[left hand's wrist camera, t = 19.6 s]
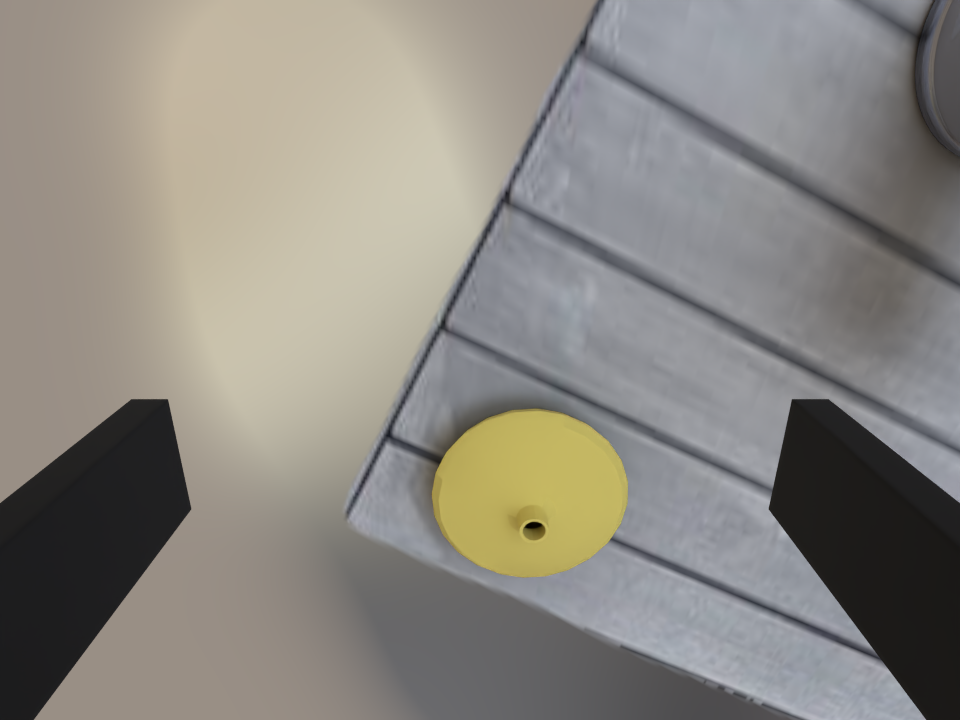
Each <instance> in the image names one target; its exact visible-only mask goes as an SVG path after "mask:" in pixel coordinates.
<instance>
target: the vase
mask: <svg viewBox="0 0 960 720" xmlns="http://www.w3.org/2000/svg"><path fill="white" fill-rule="evenodd" d="M627 500H628V480H627V477H626V474H625V471H624V467H623V464H622V461H621V459H620V458H619V456H618V455H617V453H616V452H615V450H614V449H613V447H612V446H611V444H610V443H609V442H608V441H607V440H606V439H605V438H604V437H602V436H601V435H600V434H599V433H598V432H596V431H595V430H594V429H593V428H591V427H590V426H589V425H587V424H586V423H584V422H582V421H580V420H577V419H575V418H573V417H571V416H568V415H566V414H564V413H561V412H555V411H549V410H543V409H537V408H536V409H522V410H511V411H508V412H504V413H501V414H498V415H495V416H492V417H488V418H486V419H485V420H483V421H482V422H480V423H478V424H477V425H475V426H473V427H472V428H470V429H468V430H467V431H466V432H465V433H464V434H463V435H462V436H461V437H460V438H459V439H458V440H457V441H456V442H455V443H454V444H453V446H452V447H451V448H450V449H449V450H448V451H447V452H446V454H445V456H444V458H443V460H442V462H441V463H440V465H439V467H438V469H437V471H436V474H435V479H434V485H433V490H432V501H433V509H434V516H435V518H436V520H437V522H438V525H439V527H440V529H441V531H442V533H443V535H444V537H445V538H446V539H447V540H448V541H449V542H450V544H451V545H452V546H453V547H454V548H455V549H456V551H457V552H459V553H460V554H461V555H463V556H464V557H466V558H467V559H469V560H470V561H472V562H473V563H475V564H476V565H478V566H481V567H483V568H486V569H489V570H491V571H494V572H496V573H499V574H503V575H510V576H516V577H523V578H524V577H540V576H548V575H552V574H556V573H559V572H563V571H566V570H569V569H571V568H573V567H575V566H577V565H578V564H580V563H582V562H584V561H586V560H588V559H589V558H591V557H592V556H593V555H594V554H595V553H597V552H598V551H599V550H600V549H601V548H602V547H603V546H605V545H606V544H607V543H608V542H609V540H610V539H611V537H612V536H613V534H614V533H615V531H616V530H617V529H618V527H619V526H620V524H621V521H622V518H623V515H624V512H625V509H626V506H627Z"/></svg>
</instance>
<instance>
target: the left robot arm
mask: <svg viewBox="0 0 960 720" xmlns="http://www.w3.org/2000/svg"><path fill="white" fill-rule="evenodd" d="M915 83H916V93H917V98H918V103H919V106H920V109H921V112H922V115H923V117H924V120H925V122H926V124H927V126H928V127H929V129H930V130H931V132H932V133H933V135H934V136H935V137H936V138H937V140H938V141H939V142H940V143H941V144H942V145H944V146H945V147H946V148H947V149H948V150H950V151H951V152H953V153H954V154H956V155H958V156H960V0H935V2H934V4H933V5H932V8H931V10H930V12H929V15H928V17H927V19H926V22H925V25H924V28H923V31H922V34H921V38H920V42H919V46H918V52H917V57H916V68H915ZM190 510H191V505H190V501H189V496H188V491H187V487H186V482H185V477H184V473H183V468H182V463H181V459H180V454H179V449H178V444H177V440H176V435H175V431H174V426H173V421H172V416H171V412H170V407H169V402H168V399H131V400H130V401H129V402H128V403H126V404H125V405H124V406H123V407H121V408H120V409H119V410H117V411H116V412H115V413H114V414H112V415H111V416H110V417H109V418H107V419H106V420H105V421H104V422H102V423H101V424H100V425H98V426H97V427H96V428H95V429H93V430H92V431H91V432H90V433H88V434H87V435H86V436H85V437H83V438H82V439H81V440H80V441H78V442H77V443H76V444H74V445H73V446H72V447H71V448H69V449H68V450H67V451H66V452H64V453H63V454H62V455H61V456H59V457H58V458H57V459H55V460H54V461H53V462H52V463H50V464H49V465H48V466H47V467H45V468H44V469H43V470H42V471H40V472H39V473H38V474H37V475H35V476H34V477H33V478H32V479H30V480H29V481H28V482H26V483H25V484H24V485H23V486H21V487H20V488H19V489H18V490H16V491H15V492H14V493H13V494H11V495H10V496H9V497H7V498H6V499H5V500H4V501H2V502H1V503H0V720H34V719H35V717H36V716H37V715H38V713H39V712H40V711H41V709H42V708H43V707H44V705H45V704H46V703H47V701H48V700H49V699H50V697H51V696H52V695H53V693H54V692H55V691H56V689H57V688H58V687H59V685H60V684H61V683H62V681H63V680H64V679H65V677H66V676H67V675H68V673H69V672H70V671H71V669H72V668H73V667H74V665H75V664H76V662H77V661H78V660H79V658H80V657H81V656H82V654H83V653H84V652H85V650H86V649H87V648H88V646H89V645H90V644H91V642H92V641H93V640H94V638H95V637H96V636H97V634H98V633H99V632H100V630H101V629H102V628H103V626H104V625H105V624H106V622H107V621H108V620H109V618H110V617H111V616H112V614H113V613H114V612H115V610H116V609H117V608H118V606H119V605H120V604H121V602H122V601H123V600H124V598H125V597H126V596H127V594H128V593H129V592H130V590H131V589H132V588H133V586H134V585H135V584H136V582H137V581H138V580H139V578H140V577H141V576H142V574H143V573H144V572H145V570H146V569H147V568H148V566H149V565H150V564H151V562H152V561H153V560H154V558H155V557H156V556H157V554H158V553H159V552H160V550H161V549H162V548H163V546H164V545H165V544H166V542H167V541H168V540H169V538H170V537H171V536H172V534H173V533H174V531H175V530H176V529H177V528H178V526H179V525H180V523H181V522H182V521H183V520H184V518H185V517H186V516H187V514H188V513H189V512H190ZM769 510H770V512H771V513H772V514H773V516H774V517H775V518H776V520H777V521H778V522H779V524H780V525H781V526H782V528H783V529H784V530H785V532H786V533H787V534H788V536H789V537H790V538H791V540H792V541H793V542H794V544H795V545H796V546H797V548H798V549H799V550H800V552H801V553H802V554H803V556H804V557H805V558H806V560H807V561H808V562H809V564H810V565H811V566H812V568H813V569H814V570H815V572H816V573H817V574H818V576H819V577H820V578H821V580H822V581H823V582H824V584H825V585H826V586H827V588H828V589H829V590H830V592H831V593H832V594H833V596H834V597H835V598H836V600H837V601H838V602H839V604H840V605H841V606H842V608H843V609H844V610H845V612H846V613H847V614H848V616H849V617H850V618H851V620H852V621H853V622H854V624H855V625H856V626H857V628H858V629H859V630H860V632H861V633H862V634H863V636H864V637H865V638H866V640H867V641H868V642H869V644H870V645H871V646H872V648H873V649H874V650H875V652H876V653H877V654H878V656H879V657H880V658H881V660H882V661H883V662H884V664H885V665H886V667H887V668H888V669H889V671H890V672H891V673H892V675H893V676H894V677H895V679H896V680H897V681H898V683H899V684H900V685H901V687H902V688H903V689H904V691H905V692H906V693H907V695H908V696H909V697H910V699H911V700H912V701H913V703H914V704H915V705H916V707H917V708H918V709H919V711H920V712H921V713H922V715H923V716H924V717H925V719H926V720H960V503H959V502H958V501H956V500H955V499H954V498H953V497H951V496H950V495H949V494H947V493H946V492H945V491H944V490H942V489H941V488H940V487H939V486H937V485H936V484H935V483H934V482H932V481H931V480H930V479H929V478H927V477H926V476H925V475H923V474H922V473H921V472H920V471H918V470H917V469H916V468H915V467H913V466H912V465H911V464H910V463H908V462H907V461H906V460H905V459H903V458H902V457H901V456H899V455H898V454H897V453H896V452H894V451H893V450H892V449H891V448H889V447H888V446H887V445H886V444H884V443H883V442H882V441H881V440H879V439H878V438H877V437H875V436H874V435H873V434H872V433H870V432H869V431H868V430H867V429H865V428H864V427H863V426H862V425H860V424H859V423H858V422H856V421H855V420H854V419H853V418H851V417H850V416H849V415H848V414H846V413H845V412H844V411H843V410H841V409H840V408H839V407H838V406H836V405H835V404H834V403H832V402H831V401H830V400H829V399H792V402H791V407H790V412H789V416H788V421H787V426H786V430H785V435H784V440H783V444H782V449H781V454H780V459H779V463H778V468H777V473H776V477H775V482H774V487H773V491H772V496H771V501H770V505H769Z"/></svg>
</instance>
